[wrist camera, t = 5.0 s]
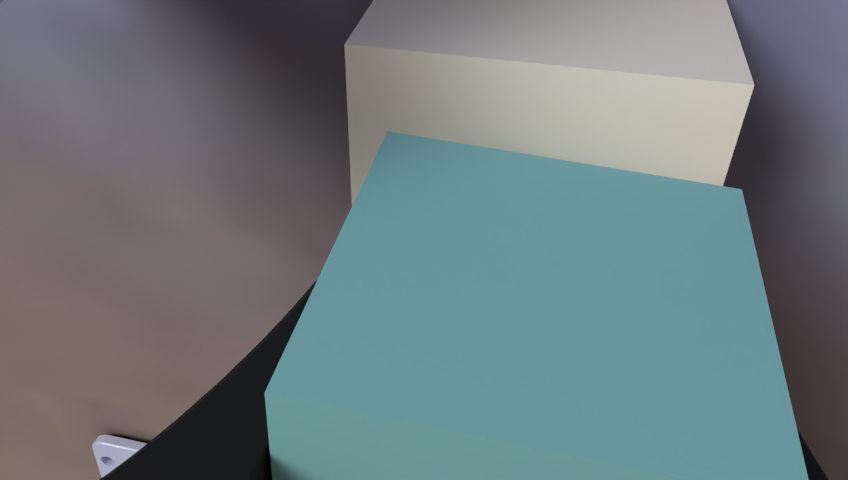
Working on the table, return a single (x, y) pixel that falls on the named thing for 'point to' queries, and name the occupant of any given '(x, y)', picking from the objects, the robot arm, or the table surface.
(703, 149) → the cream block
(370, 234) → the teal cube
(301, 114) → the table surface
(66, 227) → the table surface
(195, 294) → the table surface
